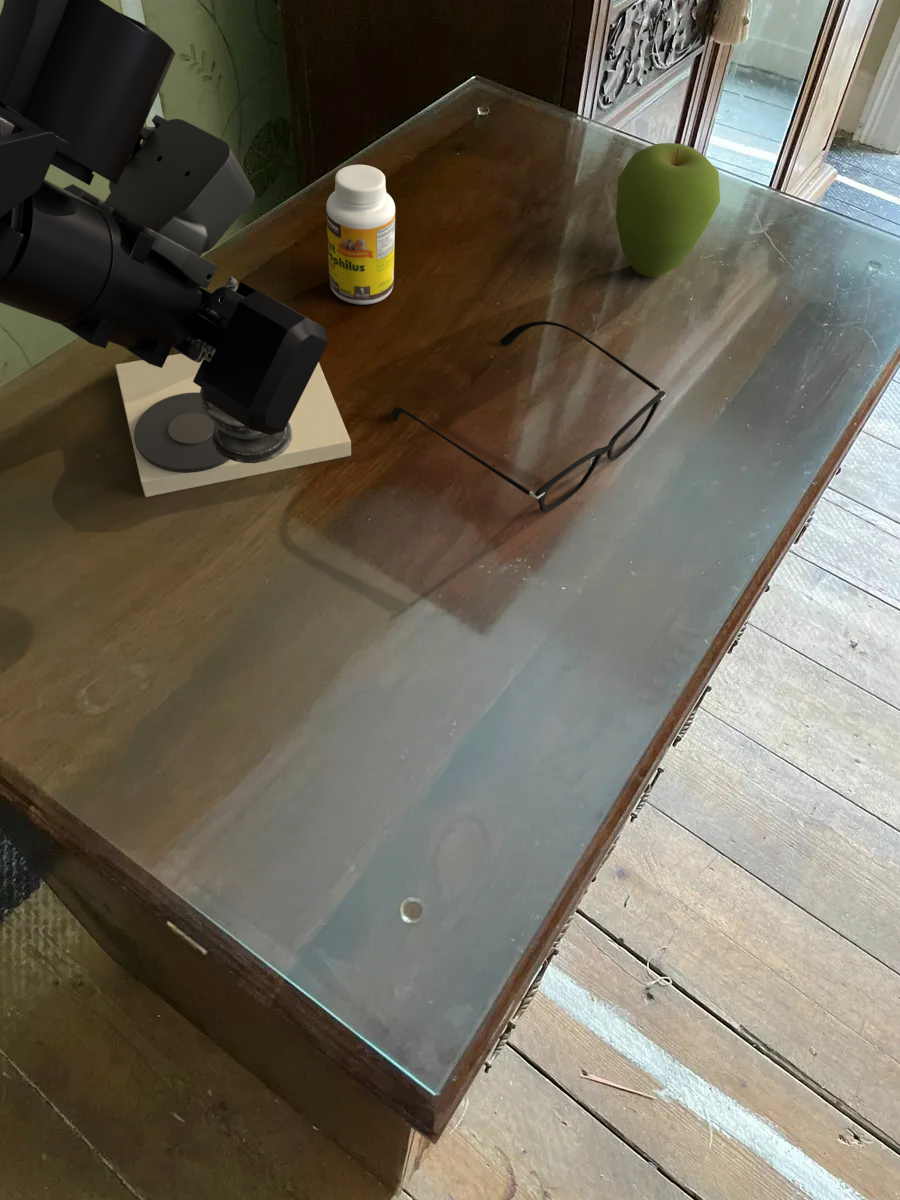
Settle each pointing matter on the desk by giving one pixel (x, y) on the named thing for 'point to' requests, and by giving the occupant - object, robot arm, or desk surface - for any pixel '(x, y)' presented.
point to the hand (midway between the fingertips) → (257, 344)
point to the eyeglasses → (596, 453)
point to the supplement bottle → (361, 236)
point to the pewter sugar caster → (243, 431)
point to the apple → (664, 205)
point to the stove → (183, 429)
